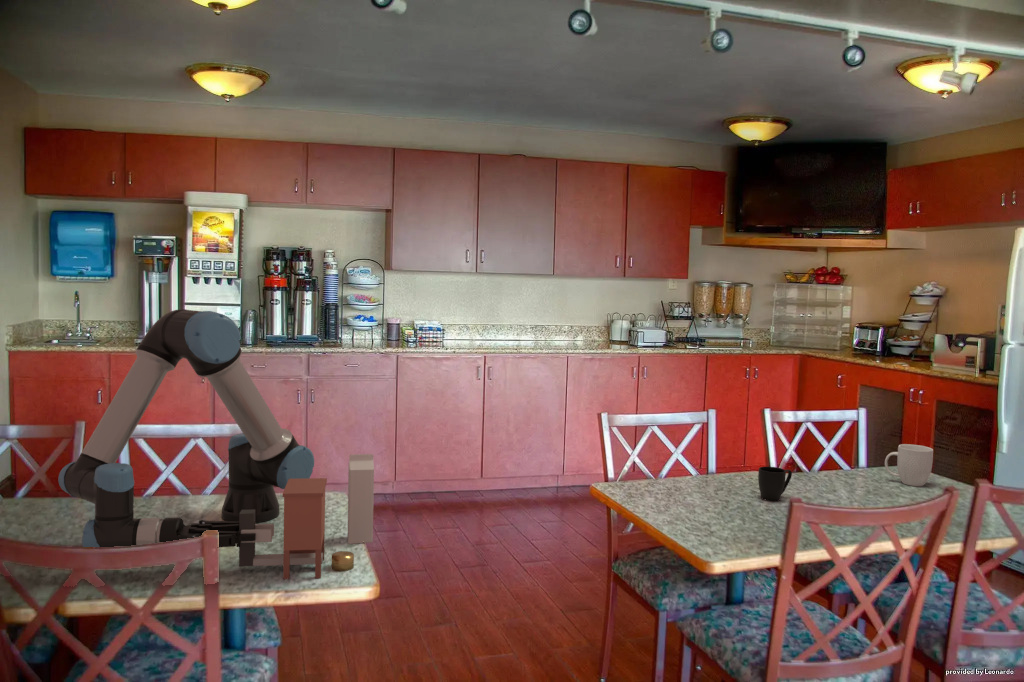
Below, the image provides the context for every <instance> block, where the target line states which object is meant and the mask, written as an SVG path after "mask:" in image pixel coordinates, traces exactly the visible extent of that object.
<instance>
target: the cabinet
mask: <svg viewBox="0 0 1024 682" xmlns="http://www.w3.org/2000/svg"><path fill="white" fill-rule="evenodd" d="M327 479H328V478H327V477H323V478H318V477H315V478H314V477H313V478H311V477H310V478H301V479H289V480H288V482H287V484H286V487H285V489H283V492H282V496H281V497H282V498H283V554H284V558H283V565H282V567H283V570H282V571H283V575H282V576H283V577H282V579H283V580H289V579H290V573H291V572H290V570H291V569H290V566H291V565H290V554H298V553H315V564H314V570H315V571H314V578H315V579H321V578H322V564H321V553H323V561H325V542H326V541H325V535H326V534H325V532H326V529H325V527H326V524H325V523H326V521H325V520H326V486H327V482H328V481H327ZM323 561H322V562H323Z"/></svg>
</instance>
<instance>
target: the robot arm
mask: <svg viewBox="0 0 1024 682" xmlns="http://www.w3.org/2000/svg"><path fill="white" fill-rule="evenodd" d="M241 339H242V337H241V332H240V329H239V327H238V326H237V323H235V322H234V320H233V319H231V318H230V317H229V316H227V315H225V314H223V313H220V312H217V311H213V310H212V311H211V310H203V311H201V310H191V309H175V310H171V311H169V312H167V313H165V314H163V315H162V316H160V318H159V319H157V321H155V323H153V325H152V326H151V327H150V328H149V329H148V331H147V332H146V334H145V335H144V336H143V338H142V340H141V341H140V343H139V345H138V346H137V348H136V350H135V355H136V358H135V360H134V362H133V364H132V365H131V367H130V369H129V370H128V372H127V374H126V376H125V378H124V379H123V381H122V383H121V384H120V386H119V388H118V390H117V391H116V393H115V395H114V397H113V398H112V400H111V401H110V403H109V405H108V407H107V408H106V410H105V412H104V414H103V415H102V416H101V419H100V420H99V422H98V424H97V426H96V427H95V428H94V430H93V432H92V434H91V436H90V437H89V440H88V441H87V442H86V444H85V446H84V447H83V449H82V451H81V452H80V455H79V456H78V457H77V459H76V460H75V461H71V462H69V463H68V464H66V465H65V466H64V467H62V469H61V470H60V472H59V473H58V478H57V479H58V480H57V481H58V484H59V487H60V488H61V490H62V491H63V492H65V493H66V494H68V495H70V497H74V498H78V499H81V500H83V501H87V502H89V503H92V504H94V516H95V517H94V518H93V519H92V518H91V519H89V520H87V522H86V523H85V525H84V527H83V531H82V537H81V542H82V544H81V545H82V548H83V547H114V546H131V545H140V544H149V543H159V542H166V541H173V540H179V539H187V538H194V537H199V536H201V535H202V533H203V532H204V531H206V530H218V532H219V547H218V548H231V547H232V548H234V547H235V548H239V547H240V542H241V543H249V542H255V543H271V542H272V541H273V537H274V536H275V524H274V523H263V522H267V521H271V520H274V519H275V518H277V517H279V515H280V503H279V501H278V497H277V495H276V491H275V488H274V487H276V488H280V489H281V490H284V489H285V487H286V484H287V482H288V480H289V479H301V478H311V477H312V474H313V471H314V467H315V456H314V453H313V451H312V450H311V449H310V448H309V447H307V446H306V445H300V444H299V442H298V441H297V440H296V438H295V436H294V435H293V433H292V431H291V430H290V429H287V428H282V426H281V425H280V424H279V422H278V420H277V419H276V416H275V415H274V413H273V412H272V410H271V409H270V407H269V405H268V403H267V402H266V400H265V399H264V398H263V396H262V394H261V392H260V391H259V389H258V387H257V385H256V384H255V383H254V381H253V379H252V378H251V376H250V374H249V373H248V371H247V369H246V368H245V366H244V364H243V363H242V361H241V356H242V353H243V350H242V349H241V343H240V340H241ZM182 359H186V360H187V362H189V363H188V364H190V366H191V367H192V369H193V371H194V373H195V374H196V375H197V376H198V377H202V378H207V380H208V381H209V383H210V385H211V386H212V388H213V389H214V391H215V392H216V393H217V395H218V397H219V398H220V400H221V401H222V404H224V407H226V409H227V411H228V412H229V414H230V416H231V417H232V419H234V421H235V423H236V424H237V426H238V427H239V430H240V431H241V432H240V433H237V434H233V435H232V436H230V438H229V440H228V447H227V451H228V490H227V492H226V495H225V499H224V501H223V505H222V508H221V519H222V520H206V519H204V520H203V519H201V520H199V521H198V523H197V522H196V523H191V524H189V525H187V524H186V525H185V523H184V520H183V518H182V517H165V518H164V519H163V518H162V517H146V518H145V517H144V518H143V517H142V518H136V517H135V516H134V505H135V504H134V501H135V499H134V497H135V496H134V495H135V491H134V490H135V479H134V469H133V467H132V466H131V464H128V463H125V462H124V463H123V462H122V463H120V462H117V461H118V460H119V458H120V456H121V454H122V452H123V451H124V448H125V447H126V446H127V444H128V442H129V440H130V439H131V437H132V435H133V433H134V431H135V430H136V428H137V426H138V424H139V423H140V421H141V420H142V418H143V416H144V413H145V412H146V410H147V409H148V407H149V405H150V404H151V402H152V400H153V398H154V397H155V395H156V393H157V391H158V389H159V387H160V386H161V384H162V382H163V381H164V379H165V377H166V375H167V373H169V372H171V371H174V370H175V368H176V367H177V366H178V363H179V362H180V361H181V360H182ZM241 510H255V529H251V530H241V534H240V532H239V514H240V512H241Z"/></svg>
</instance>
